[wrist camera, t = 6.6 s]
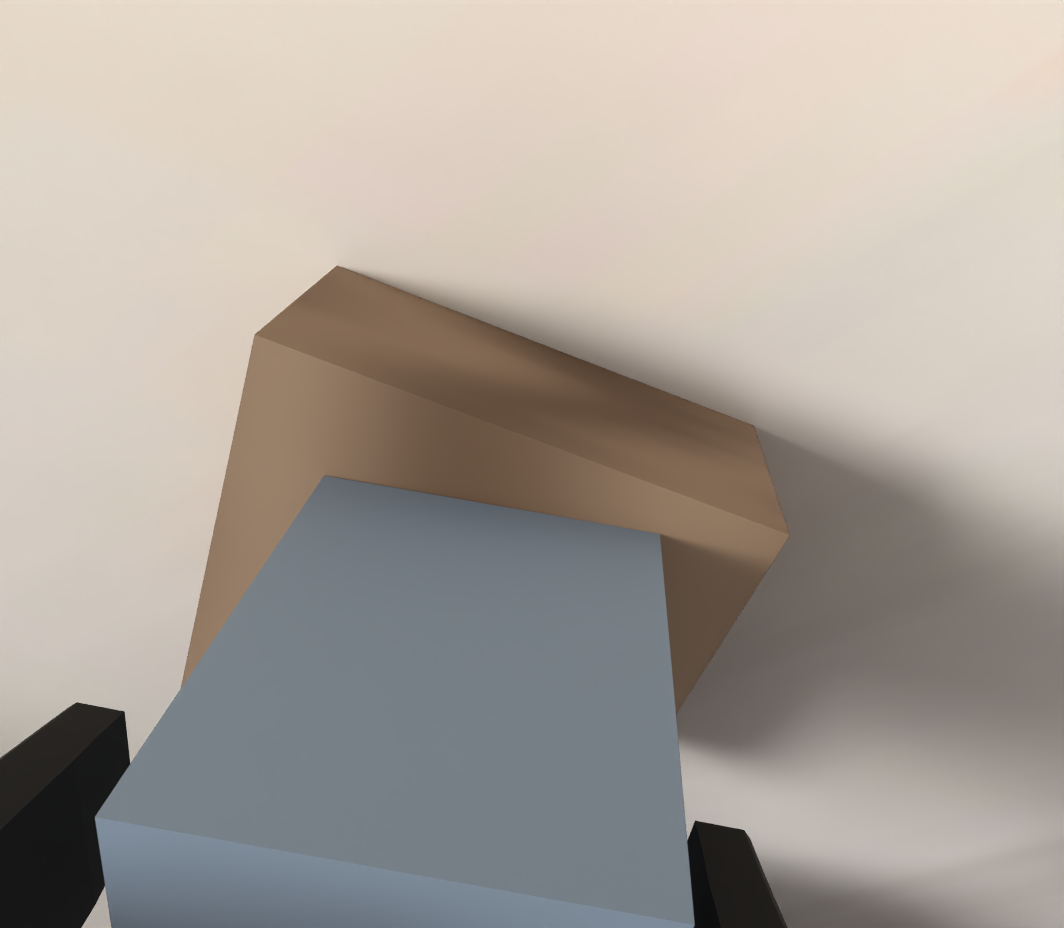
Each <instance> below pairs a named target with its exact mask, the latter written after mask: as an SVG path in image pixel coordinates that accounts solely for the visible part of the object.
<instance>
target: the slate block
mask: <svg viewBox="0 0 1064 928" xmlns="http://www.w3.org/2000/svg"><path fill="white" fill-rule="evenodd" d="M95 822H96V828H97V835H98V842H99V848H100V855H101V861H102V868H103V874H104V881H105V888H106V894H107V901H108V907H109V914H110V920H111V927H112V928H694V925H695V923H694V912H693V900H692V889H691V878H690V867H689V856H688V844H687V833H686V822H685V811H684V800H683V788H682V777H681V766H680V755H679V743H678V732H677V721H676V710H675V699H674V687H673V676H672V665H671V654H670V642H669V631H668V620H667V609H666V598H665V586H664V575H663V564H662V553H661V542H660V534H658V533H652V532H646V531H640V530H635V529H629V528H623V527H617V526H612V525H606V524H600V523H594V522H589V521H583V520H577V519H571V518H566V517H560V516H554V515H548V514H543V513H537V512H531V511H525V510H519V509H514V508H508V507H502V506H496V505H491V504H485V503H479V502H473V501H468V500H462V499H456V498H450V497H445V496H439V495H433V494H427V493H422V492H416V491H410V490H404V489H399V488H393V487H387V486H381V485H375V484H370V483H364V482H358V481H352V480H347V479H341V478H335V477H329V476H323V478H322V479H321V481H320V482H319V484H318V485H317V487H316V488H315V490H314V491H313V493H312V494H311V496H310V497H309V499H308V500H307V502H306V503H305V505H304V506H303V508H302V509H301V511H300V512H299V514H298V515H297V517H296V518H295V520H294V521H293V522H292V524H291V525H290V527H289V528H288V530H287V531H286V533H285V534H284V536H283V537H282V539H281V540H280V542H279V543H278V545H277V546H276V548H275V549H274V551H273V552H272V554H271V555H270V557H269V558H268V560H267V561H266V563H265V564H264V566H263V567H262V569H261V570H260V572H259V573H258V575H257V576H256V578H255V579H254V581H253V582H252V584H251V585H250V587H249V588H248V590H247V591H246V593H245V594H244V596H243V597H242V598H241V600H240V601H239V603H238V604H237V606H236V607H235V609H234V610H233V612H232V613H231V615H230V616H229V618H228V619H227V621H226V622H225V624H224V625H223V627H222V628H221V630H220V631H219V633H218V634H217V636H216V637H215V639H214V640H213V642H212V643H211V645H210V646H209V648H208V649H207V651H206V652H205V654H204V655H203V657H202V658H201V660H200V661H199V663H198V664H197V666H196V667H195V669H194V670H193V671H192V673H191V674H190V676H189V677H188V679H187V680H186V682H185V683H184V685H183V686H182V688H181V689H180V691H179V692H178V694H177V695H176V697H175V698H174V700H173V701H172V703H171V704H170V706H169V707H168V709H167V710H166V712H165V713H164V715H163V716H162V718H161V719H160V721H159V722H158V724H157V725H156V727H155V728H154V730H153V731H152V733H151V734H150V736H149V737H148V739H147V740H146V742H145V743H144V744H143V746H142V747H141V749H140V750H139V752H138V753H137V755H136V756H135V758H134V759H133V761H132V762H131V764H130V765H129V767H128V768H127V770H126V771H125V773H124V774H123V776H122V777H121V779H120V780H119V782H118V783H117V785H116V786H115V788H114V789H113V791H112V792H111V794H110V795H109V797H108V798H107V800H106V801H105V803H104V804H103V806H102V807H101V809H100V810H99V812H98V813H97V815H96V816H95Z"/></svg>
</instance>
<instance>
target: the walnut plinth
mask: <svg viewBox="0 0 1064 928" xmlns="http://www.w3.org/2000/svg"><path fill="white" fill-rule="evenodd" d="M323 476H329V477H335V478H341V479H347V480H352V481H358V482H364V483H370V484H375V485H381V486H387V487H393V488H399V489H404V490H410V491H416V492H422V493H427V494H433V495H439V496H445V497H450V498H456V499H462V500H468V501H473V502H479V503H485V504H491V505H496V506H502V507H508V508H514V509H519V510H525V511H531V512H537V513H543V514H548V515H554V516H560V517H566V518H571V519H577V520H583V521H589V522H594V523H600V524H606V525H612V526H617V527H623V528H629V529H635V530H640V531H646V532H652V533H658V534H660V542H661V553H662V564H663V575H664V586H665V598H666V609H667V620H668V631H669V642H670V654H671V665H672V676H673V687H674V699H675V710H676V713H677V712H678V710H679V709H680V707H681V705H682V704H683V702H684V701H685V699H686V698H687V696H688V694H689V693H690V691H691V690H692V688H693V687H694V685H695V683H696V682H697V680H698V679H699V677H700V676H701V674H702V672H703V671H704V669H705V668H706V666H707V665H708V663H709V661H710V660H711V658H712V657H713V655H714V653H715V652H716V650H717V649H718V647H719V646H720V644H721V642H722V641H723V639H724V638H725V636H726V635H727V633H728V631H729V630H730V628H731V627H732V625H733V624H734V622H735V620H736V619H737V617H738V616H739V614H740V613H741V611H742V609H743V608H744V606H745V605H746V603H747V602H748V600H749V598H750V597H751V595H752V594H753V592H754V591H755V589H756V587H757V586H758V584H759V583H760V581H761V580H762V578H763V576H764V575H765V573H766V572H767V570H768V569H769V567H770V565H771V564H772V562H773V561H774V559H775V558H776V556H777V554H778V553H779V551H780V550H781V548H782V547H783V545H784V543H785V542H786V540H787V539H788V537H789V536H790V534H789V531H788V528H787V525H786V522H785V519H784V516H783V513H782V510H781V507H780V504H779V501H778V498H777V495H776V492H775V489H774V486H773V483H772V480H771V477H770V474H769V471H768V468H767V465H766V462H765V459H764V456H763V453H762V449H761V446H760V443H759V440H758V437H757V434H756V431H755V428H754V426H752V425H750V424H747V423H745V422H742V421H739V420H737V419H734V418H732V417H729V416H726V415H724V414H721V413H719V412H716V411H713V410H711V409H708V408H706V407H703V406H700V405H698V404H695V403H693V402H690V401H687V400H685V399H682V398H680V397H677V396H674V395H672V394H669V393H667V392H664V391H661V390H659V389H656V388H654V387H651V386H648V385H646V384H643V383H641V382H638V381H636V380H633V379H630V378H628V377H625V376H623V375H620V374H617V373H615V372H612V371H610V370H607V369H604V368H602V367H599V366H597V365H594V364H591V363H589V362H586V361H584V360H581V359H578V358H576V357H573V356H571V355H568V354H565V353H563V352H560V351H558V350H555V349H552V348H550V347H547V346H545V345H542V344H539V343H537V342H534V341H532V340H529V339H526V338H524V337H521V336H519V335H516V334H513V333H511V332H508V331H506V330H503V329H500V328H498V327H495V326H493V325H490V324H487V323H485V322H482V321H480V320H477V319H474V318H472V317H469V316H467V315H464V314H461V313H459V312H456V311H454V310H451V309H448V308H446V307H443V306H441V305H438V304H435V303H433V302H430V301H428V300H425V299H422V298H420V297H417V296H415V295H412V294H409V293H407V292H404V291H402V290H399V289H396V288H394V287H391V286H389V285H386V284H383V283H381V282H378V281H376V280H373V279H370V278H368V277H365V276H363V275H360V274H357V273H355V272H352V271H350V270H347V269H344V268H342V267H339V266H336V267H335V268H334V269H332V270H331V271H330V272H329V273H328V274H326V275H325V276H324V277H323V278H322V279H320V280H319V281H318V282H317V283H316V284H315V285H313V286H312V287H311V288H310V289H309V290H307V291H306V292H305V293H304V294H303V295H301V296H300V297H299V298H298V299H297V300H295V301H294V302H293V303H292V304H291V305H289V306H288V307H287V308H286V309H285V310H284V311H282V312H281V313H280V314H279V315H278V316H276V317H275V318H274V319H273V320H272V321H270V322H269V323H268V324H267V325H266V326H264V327H263V328H262V329H261V330H260V331H258V332H257V333H256V334H255V336H254V340H253V345H252V350H251V355H250V359H249V364H248V369H247V374H246V379H245V383H244V388H243V393H242V398H241V403H240V407H239V412H238V417H237V422H236V427H235V431H234V436H233V441H232V446H231V450H230V455H229V460H228V465H227V470H226V474H225V479H224V484H223V489H222V494H221V498H220V503H219V508H218V513H217V518H216V522H215V527H214V532H213V537H212V541H211V546H210V551H209V556H208V561H207V565H206V570H205V575H204V580H203V585H202V589H201V594H200V599H199V604H198V609H197V613H196V618H195V623H194V628H193V632H192V637H191V642H190V647H189V652H188V656H187V661H186V666H185V671H184V676H183V680H182V685H181V688H182V686H183V685H184V683H185V682H186V680H187V679H188V677H189V676H190V674H191V673H192V671H193V670H194V669H195V667H196V666H197V664H198V663H199V661H200V660H201V658H202V657H203V655H204V654H205V652H206V651H207V649H208V648H209V646H210V645H211V643H212V642H213V640H214V639H215V637H216V636H217V634H218V633H219V631H220V630H221V628H222V627H223V625H224V624H225V622H226V621H227V619H228V618H229V616H230V615H231V613H232V612H233V610H234V609H235V607H236V606H237V604H238V603H239V601H240V600H241V598H242V597H243V596H244V594H245V593H246V591H247V590H248V588H249V587H250V585H251V584H252V582H253V581H254V579H255V578H256V576H257V575H258V573H259V572H260V570H261V569H262V567H263V566H264V564H265V563H266V561H267V560H268V558H269V557H270V555H271V554H272V552H273V551H274V549H275V548H276V546H277V545H278V543H279V542H280V540H281V539H282V537H283V536H284V534H285V533H286V531H287V530H288V528H289V527H290V525H291V524H292V522H293V521H294V520H295V518H296V517H297V515H298V514H299V512H300V511H301V509H302V508H303V506H304V505H305V503H306V502H307V500H308V499H309V497H310V496H311V494H312V493H313V491H314V490H315V488H316V487H317V485H318V484H319V482H320V481H321V479H322V478H323Z"/></svg>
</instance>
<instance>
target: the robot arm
mask: <svg viewBox="0 0 1064 928" xmlns="http://www.w3.org/2000/svg"><path fill="white" fill-rule="evenodd" d="M129 765H130V758H129V749H128V740H127V731H126V721H125V712H124V711H119V710H114V709H108V708H103V707H98V706H93V705H88V704H82V703H75V704H74V705H72V706H70V707H69V708H67V709H66V710H65V711H63V712H62V713H61V714H59V715H58V716H56V717H55V718H54V719H52V720H51V721H50V722H48V723H47V724H45V725H44V726H43V727H41V728H40V729H39V730H37V731H36V732H35V733H33V734H32V735H31V736H29V737H28V738H27V739H25V740H24V741H23V742H21V743H20V744H18V745H17V746H16V747H14V748H13V749H12V750H10V751H9V752H8V753H6V754H5V755H4V756H2V757H1V758H0V928H81V927H82V926H83V924H84V922H85V921H86V919H87V917H88V916H89V914H90V913H91V911H92V909H93V908H94V906H95V904H96V902H97V900H98V898H99V896H100V894H101V892H102V890H103V888H104V886H105V881H104V874H103V868H102V861H101V855H100V848H99V842H98V835H97V828H96V822H95V816H96V815H97V813H98V812H99V810H100V809H101V807H102V806H103V804H104V803H105V801H106V800H107V798H108V797H109V795H110V794H111V792H112V791H113V789H114V788H115V786H116V785H117V783H118V782H119V780H120V779H121V777H122V776H123V774H124V773H125V771H126V770H127V768H128V767H129ZM687 844H688V856H689V867H690V878H691V889H692V900H693V912H694V923H695V925H694V928H787V926H786V923H785V921H784V919H783V917H782V914H781V912H780V910H779V907H778V905H777V903H776V900H775V898H774V896H773V893H772V891H771V889H770V886H769V884H768V882H767V879H766V877H765V874H764V872H763V869H762V867H761V865H760V862H759V860H758V857H757V855H756V852H755V850H754V847H753V845H752V842H751V840H750V838H749V836H748V835H747V834H746V832H745V831H744V830H741V829H735V828H730V827H725V826H720V825H715V824H709V823H704V822H699V821H695V823H694V825H693V828H692V830H691V833H690V836H689V838H688V841H687Z"/></svg>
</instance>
